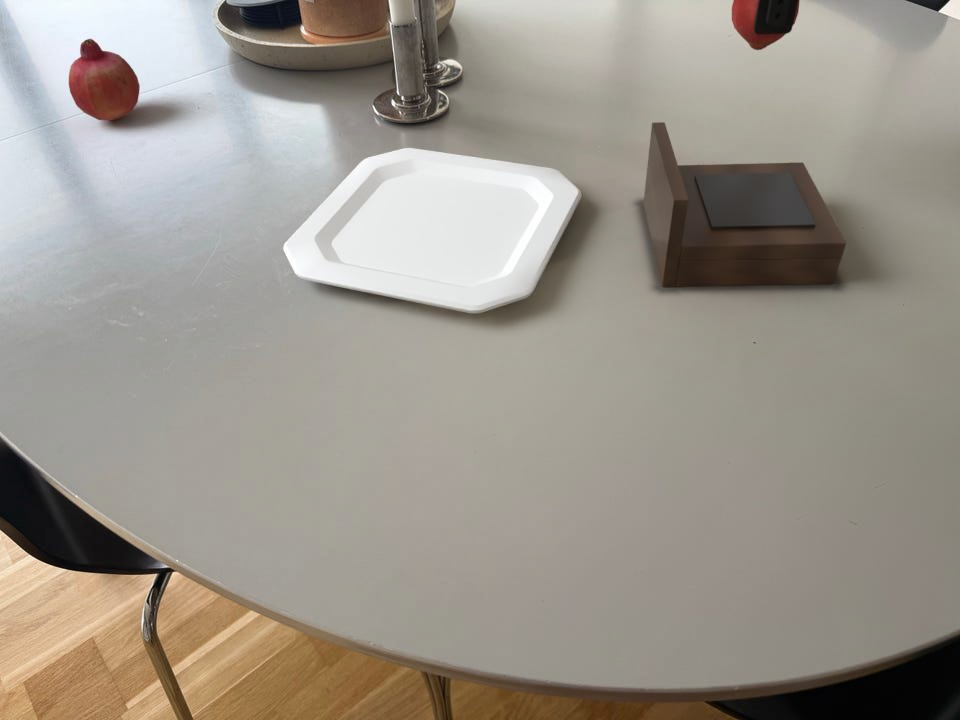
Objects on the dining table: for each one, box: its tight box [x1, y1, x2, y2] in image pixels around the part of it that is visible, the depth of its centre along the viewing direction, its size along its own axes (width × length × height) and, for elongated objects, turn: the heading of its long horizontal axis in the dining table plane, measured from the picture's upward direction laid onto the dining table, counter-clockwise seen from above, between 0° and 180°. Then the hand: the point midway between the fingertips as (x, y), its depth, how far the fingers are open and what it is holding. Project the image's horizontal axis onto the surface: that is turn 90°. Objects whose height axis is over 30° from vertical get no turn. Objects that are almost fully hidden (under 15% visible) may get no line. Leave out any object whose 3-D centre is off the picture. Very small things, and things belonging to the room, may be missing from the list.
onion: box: [731, 0, 800, 51], centre depth 74 cm, size 6×6×8 cm
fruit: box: [68, 38, 141, 121], centre depth 100 cm, size 8×8×10 cm
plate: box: [283, 147, 583, 314], centre depth 80 cm, size 25×25×2 cm
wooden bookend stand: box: [642, 121, 847, 288], centre depth 75 cm, size 15×14×9 cm
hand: (764, 16), depth 74 cm, fingers closed on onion, 5 cm apart
